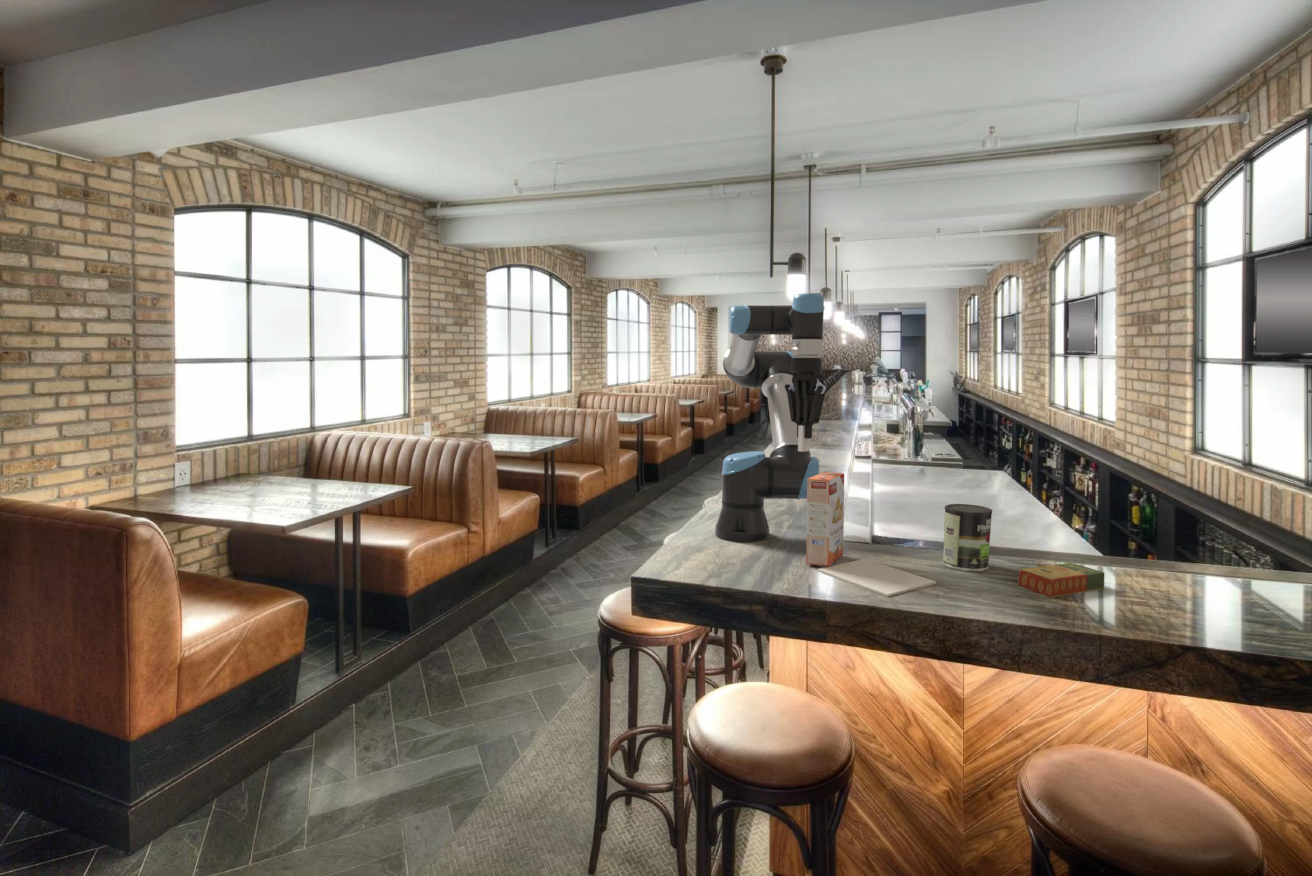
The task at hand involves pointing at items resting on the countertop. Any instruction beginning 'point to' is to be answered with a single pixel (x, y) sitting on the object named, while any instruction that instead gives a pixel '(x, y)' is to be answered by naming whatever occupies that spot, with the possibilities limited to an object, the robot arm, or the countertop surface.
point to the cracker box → (825, 518)
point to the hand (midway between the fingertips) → (803, 450)
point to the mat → (876, 577)
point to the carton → (1061, 579)
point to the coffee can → (967, 537)
